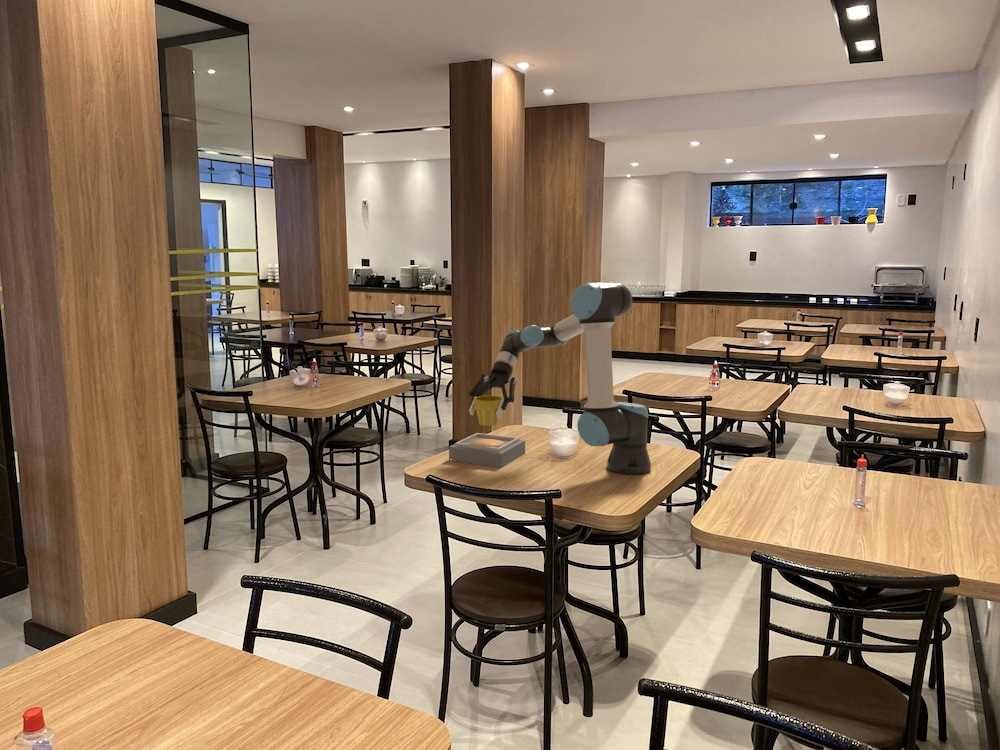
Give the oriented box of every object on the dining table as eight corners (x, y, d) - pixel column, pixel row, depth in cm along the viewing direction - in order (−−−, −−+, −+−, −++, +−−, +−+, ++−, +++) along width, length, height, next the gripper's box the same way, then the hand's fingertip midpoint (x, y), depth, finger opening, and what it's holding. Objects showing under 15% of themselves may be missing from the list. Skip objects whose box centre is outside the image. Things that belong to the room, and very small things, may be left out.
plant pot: (469, 426, 263) (470, 399, 261) (479, 420, 273) (479, 394, 271) (497, 428, 260) (497, 401, 258) (505, 422, 270) (505, 396, 268)
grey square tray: (525, 453, 273) (525, 437, 272) (501, 467, 254) (501, 450, 253) (475, 447, 282) (475, 431, 281) (449, 460, 263) (448, 443, 262)
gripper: (534, 374, 272) (515, 423, 261) (480, 370, 282) (460, 417, 271) (528, 362, 267) (509, 412, 255) (474, 358, 277) (453, 405, 265)
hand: (484, 414), depth 263 cm, fingers closed on plant pot, 10 cm apart
